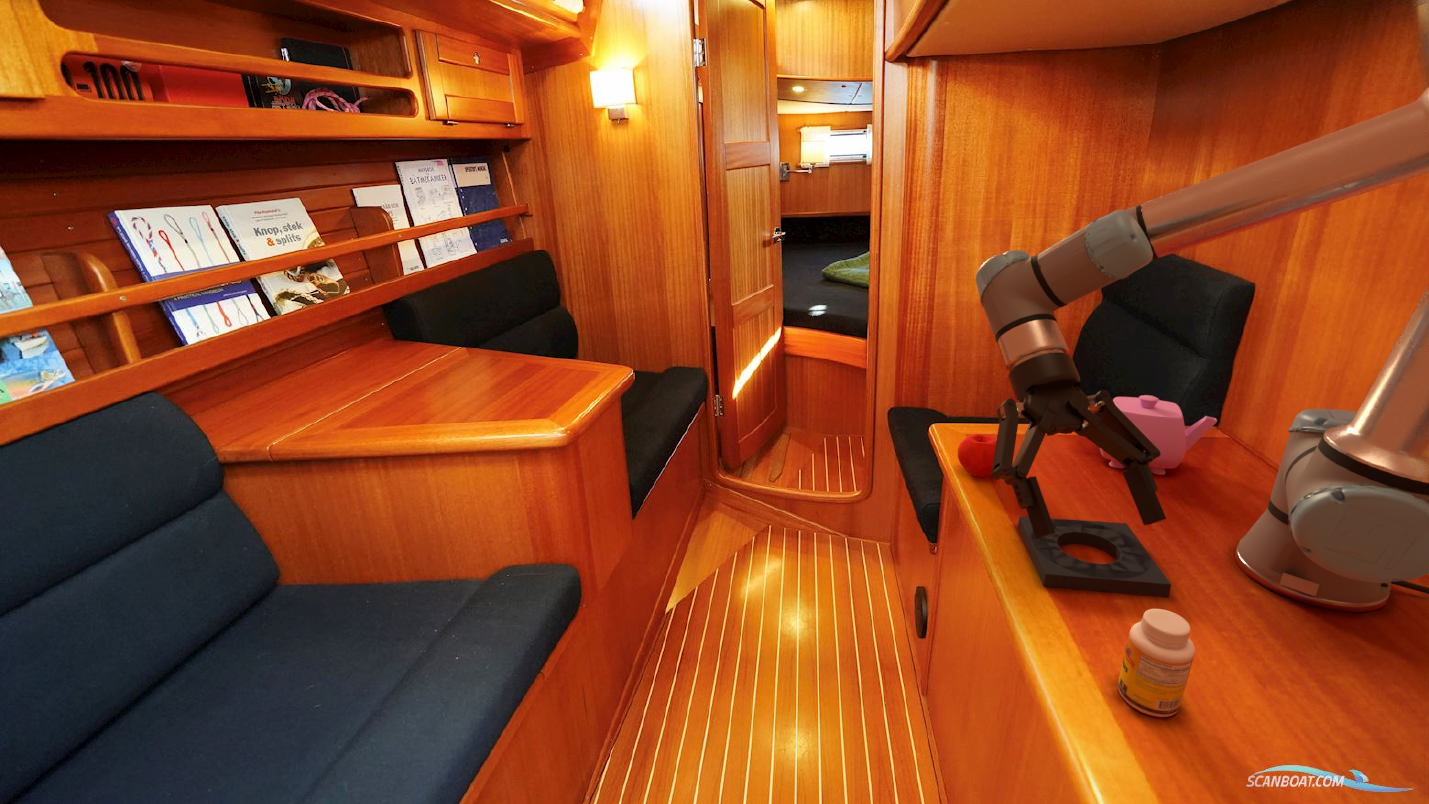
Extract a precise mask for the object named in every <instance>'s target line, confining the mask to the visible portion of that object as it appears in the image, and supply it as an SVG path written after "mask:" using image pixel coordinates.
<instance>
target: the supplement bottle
mask: <svg viewBox="0 0 1429 804" xmlns="http://www.w3.org/2000/svg"><path fill="white" fill-rule="evenodd" d="M1190 633H1191V625H1190V623H1189V622H1188V621H1187V620H1186V619H1185V618H1184V617H1182V616H1181V615H1179V614H1178V613H1175V612H1172V611H1171V610H1168V609H1167V610H1166V609H1164V608H1163V609H1162V608H1150V609H1147V610H1145V612H1143V616H1142V619H1141V620H1140V621H1138V622H1136V623H1134V624H1133V625H1132V626H1131V627H1130V630H1129V634H1128V637H1127V643H1126V646H1125V651H1124V654H1123V660H1122V665H1121V667H1120V673H1119V675H1118V682H1117V689H1118V692H1119V694H1120V696H1121V697H1122V699H1123V700H1124V701H1125V702H1126V703H1127V704H1128V705H1129V706H1130V707H1132V708H1133V709H1135V710H1137V711H1138V712H1140V713H1143V714H1146V715H1148V716H1152V717H1155V718H1167V717H1171V716H1173V715H1174V716H1175V714H1177V713H1178V712H1179V710H1180V707H1181V704H1182V700H1183V697H1184V693H1185V690H1186V687H1187V683H1188V679H1189V676H1190V673H1191V669H1192V665H1193V663H1194V662H1193V661H1194V658H1195V656H1196V655H1195V654H1196V647H1195V645H1194V642H1193V641H1192V639H1191V638H1190Z"/></svg>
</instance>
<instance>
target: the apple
mask: <svg viewBox="0 0 1429 804" xmlns="http://www.w3.org/2000/svg"><path fill="white" fill-rule="evenodd" d="M996 441H997V439H995V438H993V437H991V436H989V435H985V434H981V433H977V434H972V435H969V436H967V437H965V438H964V439H963V440H962V441H961V442H960V444H959V445H958V447H957V459H958V461H959V464H960V465H961V466H962V468H964V470H965V471H966V472H967V473H968V474H969V475H971V476H973V477H977V478H988V477H990V476H992V475H991V473H992V466H993V460H994V454H995V448H996Z"/></svg>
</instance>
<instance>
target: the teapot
mask: <svg viewBox="0 0 1429 804" xmlns="http://www.w3.org/2000/svg"><path fill="white" fill-rule="evenodd" d="M1112 400H1113V402H1114V403H1115V405H1116V406H1117V407H1118V408H1119V409H1120V410H1121V411H1122V412H1123V413H1124V415H1125V416H1126V417H1127V418H1128V419H1129V420H1130V421H1131V422H1132V423H1133V424H1134V425H1135V426H1136V427H1137V428H1138V429H1139V430H1140V431H1141V432H1142V433H1143V434H1144V435H1145V436H1146V437H1147V438H1148V439H1149V440H1150V441H1151V442H1152V443H1153V444H1154V445H1155V446H1156V447H1157V448H1158V449H1159V451H1160V453H1161V455H1160V456H1159V457H1157V458H1156V459H1154V460H1153V461H1152V462H1150V463H1149V468H1150V471H1151V473H1152V474H1155V475H1159V476H1162V475H1165V474H1166V473H1167V472H1166V470H1165V469H1176V468H1177V467H1178V466H1180V464H1181V463H1182V462H1183V461H1184V459H1185V455H1186V452H1187V451H1189V450H1190V449H1191V448H1192V447H1193V446H1194V445H1195V444H1196V443H1197V442H1198V441H1199V440H1200V439H1201V438H1202V437H1204V435H1205V434H1206V433H1207V432H1208V431H1209V430H1211V428H1212V427H1213V426H1215V424H1217V422H1218V420H1217V418H1216V417H1212V416H1208V415H1204V417H1203V418H1201V419H1199V420H1198V421H1196V422H1194V423H1193V424H1192V425H1190V426H1189V427H1188V428H1186V426H1185V421H1184V420H1185V419H1184V416H1183V415H1184V414H1183V412H1182V410H1181V407H1180V406H1179V405H1178V404H1177V403H1175V402H1173V401H1172V402H1171V401H1167V400H1160V398H1158V397H1156V396H1154V395H1149V394H1144V395H1139V396H1138V397H1135V396H1134V397H1133V396H1116V397H1114V398H1112ZM1089 409H1090V408H1089V407H1088V410H1089ZM1093 413H1094V412H1093ZM1086 423H1087V422H1086V421H1085V420H1084V423H1083V425H1084V424H1086ZM1098 448H1099V450H1100V454H1101V456H1102V457H1103V458H1104V459H1106V460H1110V462H1109V463H1108V465H1109V466H1110V467H1112V468H1114V469H1124V468H1125V469H1126V467H1125V466H1124V465H1122V464H1121V463H1120V462H1118V461H1117V460H1116V459H1114V458H1113V457H1112V456H1110V455H1109V454H1108V453H1106V452H1105V451H1104V450H1102V449H1101V448H1100V447H1098ZM1144 452H1145V451H1144Z"/></svg>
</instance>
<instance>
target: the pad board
mask: <svg viewBox="0 0 1429 804" xmlns="http://www.w3.org/2000/svg"><path fill="white" fill-rule="evenodd" d="M1050 518H1051V521H1052V524H1053V527H1054V530H1055V533H1053V534H1050V535H1048V536H1046V537H1043V538H1037V539H1036V537H1035V534H1034V531H1033V528H1032V525H1031V522H1030V519H1029V516H1022V515H1020V516H1019V517H1018V521H1017V522H1018V523H1017V529H1018V531H1019V533H1020V535H1021V536H1020V537H1021V538H1022V540H1023V543H1024V545H1025V548H1026V550H1027V552H1028V554H1029V556H1030V559H1031V561H1032V563H1033V565H1034V568H1035V570H1036V572H1037V574H1038V576H1039V579H1040V581H1041V584H1042V586H1043V588H1045V587H1047V588H1056V589H1071V590H1080V591H1081V590H1082V591H1094V592H1104V593H1115V594H1116V593H1117V594H1128V595H1129V594H1130V595H1139V596H1152V597H1161V598H1162V597H1164V598H1168V597H1169V596H1170V593H1171V588H1172V583H1171V582H1170V580H1169V578H1167V576H1166V575H1165V574H1164V572H1163V571H1162V569H1161V568H1160V567H1159V565H1158V564H1157V563H1156V561H1155V560H1154V558H1153V557H1152V556H1151V555H1150V553H1149V552H1148V551H1147V549H1146V548H1145V546H1144V545H1143V544H1142V542H1141V541H1140V540H1139V538H1138V536H1137V535H1135V533H1134V531H1133V530H1132V529H1131V528H1130V526H1129V524H1127V522H1112V521H1099V520H1086V519H1085V520H1082V519H1069V518H1068V519H1067V518H1053V517H1050ZM1071 544H1075V545H1076V544H1077V545H1085V546H1089V547H1093V548H1096V549H1099V550H1101V551H1103V552H1105V553H1107V554H1108V555H1109V556H1111V557H1112V558H1113V559H1114V560H1115V561H1114V562H1107V563H1099V562H1090V561H1087V560H1086V561H1085V560H1082V559H1078V558H1076V557H1074V556H1072V555H1070V554H1068V553H1067V552H1065V550H1063V549H1062V548H1061V546H1063V545H1071ZM1169 598H1170V597H1169Z"/></svg>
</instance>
